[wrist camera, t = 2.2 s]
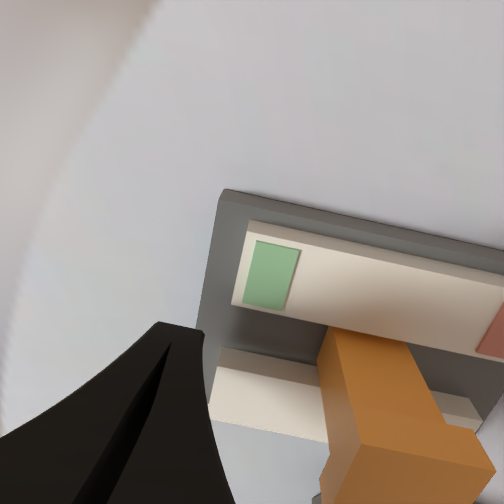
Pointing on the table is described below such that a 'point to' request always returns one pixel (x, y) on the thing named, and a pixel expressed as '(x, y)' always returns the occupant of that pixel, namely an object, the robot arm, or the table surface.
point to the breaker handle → (390, 429)
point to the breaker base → (341, 311)
